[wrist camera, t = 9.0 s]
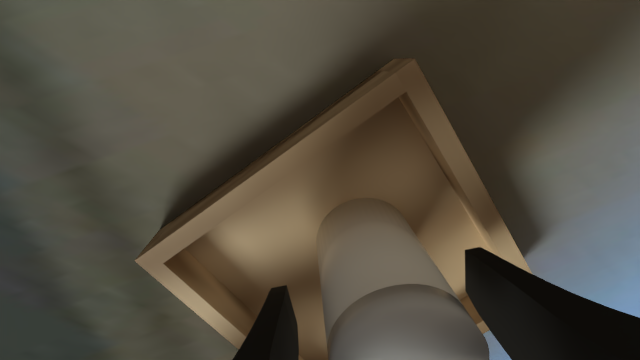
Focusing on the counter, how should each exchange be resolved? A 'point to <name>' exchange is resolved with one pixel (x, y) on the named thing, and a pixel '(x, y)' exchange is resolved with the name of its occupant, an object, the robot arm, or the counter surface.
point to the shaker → (387, 291)
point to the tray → (330, 208)
